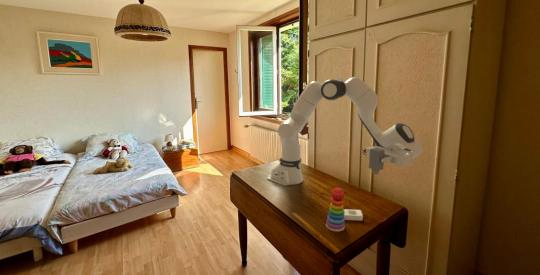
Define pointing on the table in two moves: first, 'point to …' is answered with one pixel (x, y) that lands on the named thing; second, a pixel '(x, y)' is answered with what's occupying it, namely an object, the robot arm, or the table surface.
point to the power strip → (353, 214)
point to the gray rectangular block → (376, 160)
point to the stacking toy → (336, 211)
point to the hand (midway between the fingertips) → (375, 158)
